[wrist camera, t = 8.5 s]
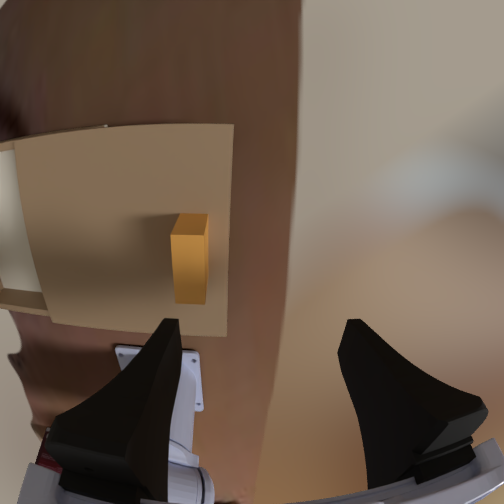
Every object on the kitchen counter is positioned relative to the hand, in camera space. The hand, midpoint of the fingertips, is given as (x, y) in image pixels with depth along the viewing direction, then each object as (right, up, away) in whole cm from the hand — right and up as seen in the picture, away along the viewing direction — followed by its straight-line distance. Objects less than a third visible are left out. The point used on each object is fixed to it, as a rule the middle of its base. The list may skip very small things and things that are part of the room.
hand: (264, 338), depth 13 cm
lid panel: (-9, +4, +5) cm, 11 cm away
